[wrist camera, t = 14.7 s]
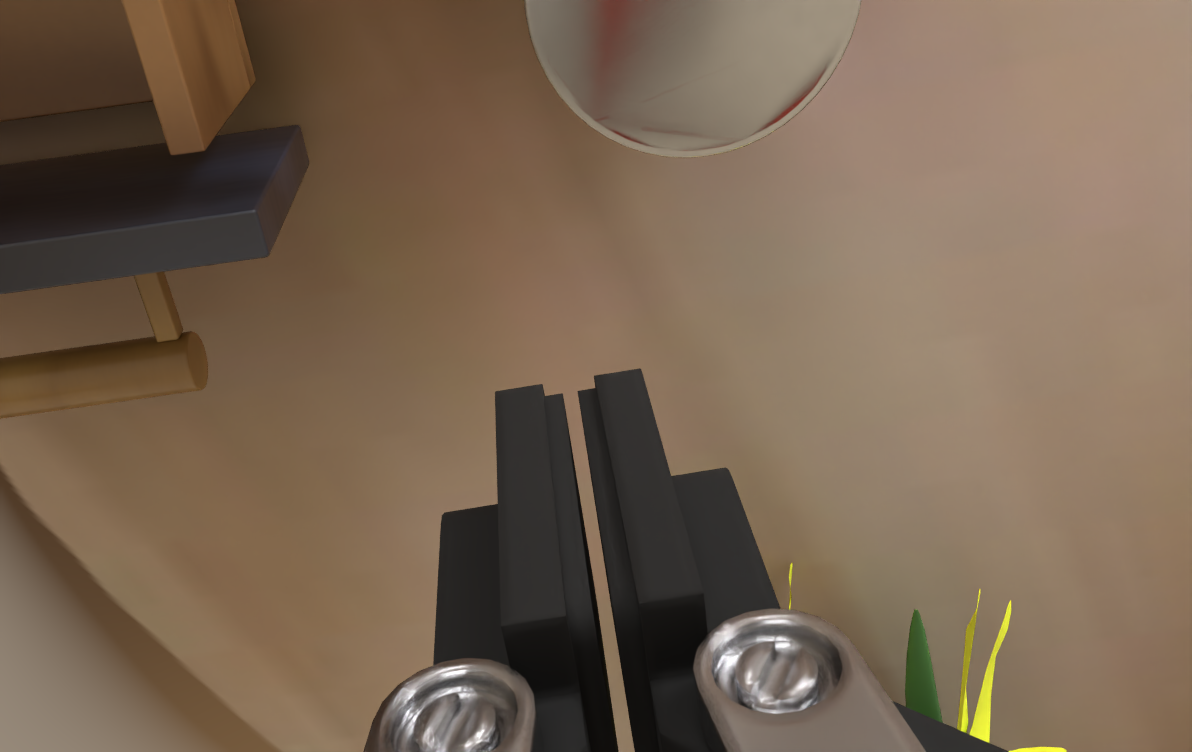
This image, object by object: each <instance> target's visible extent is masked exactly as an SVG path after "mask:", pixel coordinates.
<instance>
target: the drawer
mask: <svg viewBox="0 0 1192 752" xmlns="http://www.w3.org/2000/svg"><path fill="white" fill-rule="evenodd" d="M255 80H256V79H255V75H254V71H253V68H252V64H251V60H250V56H249V53H248V49H247V45H246V41H245V38H244V34H243V30H242V26H241V23H240V19H239V15H238V11H237V8H236V4H235V0H0V122H4V121H11V120H19V119H26V118H34V117H41V116H48V115H56V114H63V113H70V112H78V111H85V110H93V109H100V108H107V107H115V106H122V105H129V104H137V103H144V102H152V101H153V102H154V105H155V108H156V111H157V114H158V118H159V121H160V124H161V127H162V130H163V133H164V137H165V140H166V143H160V144H153V145H146V146H138V147H131V148H124V149H116V150H109V151H102V152H94V153H87V154H80V155H72V156H65V157H58V158H50V159H43V160H36V161H28V162H21V163H14V164H6V165H0V294H6V293H13V292H20V291H27V290H34V289H42V288H49V287H56V286H63V285H70V284H78V283H85V282H92V281H99V280H106V279H113V278H121V277H128V276H134V278H135V281H136V284H137V286H138V289H139V292H140V295H141V298H142V301H143V303H144V306H145V309H146V312H147V315H148V318H149V320H150V323H151V326H152V329H153V332H154V335H155V336H154V337H147V338H140V339H133V340H126V341H119V342H112V343H105V344H97V345H90V346H83V347H76V348H69V349H62V350H55V351H48V352H41V353H33V354H26V355H19V356H12V357H5V358H0V419H1V418H8V417H15V416H22V415H30V414H37V413H44V412H51V411H58V410H65V409H72V408H79V407H86V406H93V405H100V404H107V403H114V402H121V401H128V400H135V399H142V398H149V397H156V396H163V395H170V394H177V393H184V392H191V391H198V390H202V389H204V388H205V386H206V384H207V380H208V362H207V356H206V352H205V348H204V345H203V343H202V341H201V339H200V337H199V336H198V334H197V333H195V332H192V331H190V332H183V327H182V324H181V321H180V318H179V315H178V312H177V309H176V306H175V303H174V300H173V297H172V294H171V291H170V288H169V285H168V282H167V279H166V276H165V273H164V271H171V270H178V269H185V268H192V267H200V266H207V265H214V264H221V263H228V262H235V261H243V260H250V259H257V258H264V257H268V256H269V255H270V252H271V250H272V248H273V246H274V243H275V241H276V239H277V236H278V234H279V232H280V230H281V227H282V225H283V223H284V220H285V218H286V216H287V214H288V211H289V209H290V207H291V204H292V202H293V200H294V198H295V195H296V193H297V191H298V188H299V186H300V184H301V182H302V179H303V177H304V175H305V172H306V170H307V168H308V165H309V159H308V155H307V151H306V147H305V143H304V139H303V135H302V131H301V127H300V126H299V125H292V126H285V127H278V128H270V129H263V130H256V131H248V132H241V133H234V134H226V135H219V136H216V135H217V133H218V132H219V131H220V129H221V128H222V126H223V125H224V124H225V122H226V121H227V120H228V118H229V117H230V115H231V114H232V113H233V111H234V110H235V108H236V107H237V106H238V104H239V103H240V102H241V100H242V99H243V97H244V96H245V95H246V93H247V92H248V91H249V89H250V88H251V86H252V85H253V84H254V82H255ZM182 332H183V333H182Z"/></svg>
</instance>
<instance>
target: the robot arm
mask: <svg viewBox="0 0 1192 752" xmlns="http://www.w3.org/2000/svg"><path fill="white" fill-rule="evenodd" d="M594 380H595V387H596V388H594V389H588V390H581V391H578V396H579V403H580V409H581V416H582V422H583V428H584V435H585V441H586V448H587V454H588V460H589V467H590V473H591V480H592V486H593V492H594V499H595V505H596V512H597V518H598V524H599V531H600V537H601V543H602V550H603V556H604V563H605V569H606V575H607V582H608V588H609V594H610V601H611V607H612V613H613V619H614V625H615V632H616V638H617V644H618V650H619V656H620V663H621V669H622V675H623V681H624V687H625V694H626V700H627V706H628V712H629V718H630V725H631V731H632V737H633V743H634V749H635V752H1009V751H1006V750H1004V749H1002V748H999V747H997V746H995V745H992V744H990V743H988V742H985V741H983V740H981V739H979V738H976V737H974V736H972V735H969V734H967V733H965V732H962V731H960V730H958V729H955V728H953V727H951V726H949V725H946V724H944V723H942V722H939V721H937V720H935V719H932V718H930V717H928V716H925V715H923V714H921V713H919V712H916V711H914V710H912V709H909V708H907V707H905V706H902V705H900V704H898V703H895V702H893V701H892V700H891V699H890V698H889V696H888V695H887V693H886V692H885V690H884V689H883V687H882V686H881V684H880V683H879V681H878V680H877V678H876V677H875V675H874V674H873V672H872V671H871V669H870V668H869V667H868V665H867V664H866V662H865V661H864V659H863V658H862V656H861V655H860V653H859V652H858V650H857V649H856V647H855V646H854V644H853V643H852V642H851V641H850V640H849V639H848V638H847V637H846V636H845V635H844V633H843V632H842V631H841V630H840V629H839V628H838V627H836V626H834V625H832V624H831V623H829V622H827V621H825V620H824V619H822V618H820V617H818V616H815V615H811V614H808V613H804V612H801V611H797V610H788V609H780V606H779V603H778V601H777V598H776V595H775V593H774V590H773V587H772V584H771V582H770V579H769V576H768V574H767V571H766V568H765V565H764V563H763V560H762V557H761V555H760V552H759V549H758V546H757V544H756V541H755V538H754V536H753V533H752V530H751V527H750V525H749V522H748V519H747V517H746V514H745V511H744V508H743V506H742V503H741V500H740V498H739V495H738V492H737V489H736V487H735V484H734V481H733V479H732V476H731V474H730V472H729V470H728V469H727V468H720V469H714V470H708V471H701V472H695V473H689V474H683V475H676V476H671V474H670V471H669V467H668V463H667V460H666V456H665V453H664V449H663V445H662V442H661V438H660V435H659V431H658V428H657V424H656V420H655V417H654V413H653V410H652V406H651V403H650V399H649V395H648V392H647V388H646V385H645V381H644V378H643V374H642V371H641V369H635V370H628V371H622V372H616V373H609V374H603V375H597V376H594ZM495 409H496V449H497V489H498V504H495V505H489V506H483V507H477V508H471V509H464V510H458V511H452V512H446V513H444V514H443V515H442V520H441V533H440V551H439V570H438V589H437V608H436V626H435V645H434V664H433V666H431V667H428V668H426V669H423V670H421V671H419V672H417V673H416V674H414V675H412V676H411V677H409V678H408V679H406V680H405V681H403V682H402V683H400V684H399V685H398V686H397V687H396V688H395V689H394V690H393V691H392V692H391V693H390V694H389V696H388V697H387V698H386V699H385V700H384V701H383V702H382V704H381V706H380V708H379V710H378V712H377V714H376V716H375V718H374V720H373V722H372V726H371V729H370V732H369V735H368V739H367V742H366V745H365V749H364V752H618V745H617V738H616V731H615V724H614V718H613V711H612V704H611V697H610V690H609V683H608V676H607V669H606V662H605V655H604V648H603V641H602V634H601V627H600V620H599V614H598V607H597V600H596V594H595V587H594V581H593V575H592V569H591V563H590V556H589V550H588V544H587V538H586V532H585V526H584V520H583V514H582V508H581V502H580V496H579V490H578V483H577V477H576V471H575V465H574V459H573V453H572V447H571V441H570V435H569V429H568V423H567V417H566V410H565V404H564V399H563V393H562V394H556V395H550V396H545V395H544V390H543V385H542V384H540V385H533V386H527V387H521V388H514V389H508V390H502V391H496V392H495Z"/></svg>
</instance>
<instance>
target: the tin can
mask: <svg viewBox="0 0 1192 752" xmlns="http://www.w3.org/2000/svg"><path fill="white" fill-rule="evenodd" d="M860 5H861V0H524V7H525V14H526V19H527V24H528V29H529V34H530V38H531V41H532V44H533V47H534V50H535V52H536V55H537V58H538V60H539V62H540V64H541V66H542V68H543V70H544V72H545V74H546V77H547V78H548V80H549V81H550V83H551V84H552V86H553V87H554V89H555V90H556V92H557V93H558V95H559V96H560V97H561V99H562V100H563V101H564V102H565V103H566V104H567V105H568V107H569V108H570V109H571V110H572V111H573V112H574V113H575V114H576V115H577V116H578V117H580V118H581V119H582V120H583V121H584V122H585V123H586V124H588V125H589V126H590V127H592V128H593V129H595V130H596V131H598V132H599V133H601V134H602V135H604V136H605V137H607V138H609V139H611V140H613V141H615V142H617V143H619V144H621V145H623V146H625V147H628V148H631V149H634V150H637V151H640V152H643V153H648V154H653V155H658V156H664V157H679V158H690V157H704V156H710V155H715V154H720V153H725V152H729V151H732V150H735V149H738V148H741V147H744V146H747V145H749V144H751V143H753V142H755V141H757V140H759V139H761V138H763V137H766V136H767V135H769V134H770V133H772V132H774V131H775V130H777V129H778V128H780V127H781V126H783V125H784V124H786V123H787V122H788V121H789V120H791V119H792V118H793V117H794V116H796V115H797V114H798V113H799V112H800V111H802V110H803V109H804V108H805V106H806V105H807V104H808V103H809V102H810V101H811V100H812V99H813V98H814V97H815V96H816V95H817V94H818V93H819V91H820V90H821V89H822V87H823V86H824V85H825V84H826V82H827V81H828V80H829V78H830V77H831V75H832V74H833V72H834V70H835V69H836V67H837V65H838V64H839V62H840V60H841V59H842V57H843V55H844V52H845V50H846V48H847V46H848V44H849V41H850V39H851V37H852V34H853V31H854V28H855V25H856V22H857V18H858V15H859V11H860Z"/></svg>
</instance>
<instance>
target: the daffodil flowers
mask: <svg viewBox="0 0 1192 752" xmlns="http://www.w3.org/2000/svg"><path fill="white" fill-rule="evenodd" d="M791 576H792V563H791V566H790V572H789V583H790V585H791ZM979 597H980V589H979V595H978V602H979ZM790 605H791V589H790V600H789V610H790ZM977 608H978V603H977ZM976 615H977V609H976V611H975V613H974V615H973V617H972V619H971V621H970V623H969V625H968V627H967V629H966V637H965V650H964V663H963V673H962V684H961V695H960V705H959V715H958V725H957V729H958V730H960V731H962V732H965V733H966V732H967V727H968V711H967V696H966V684H967V677H968V670H969V663H970V657H971V650H972V644H973V637H974V630H975V624H976ZM1010 615H1011V600H1010V602H1009V604H1008V607H1007V610H1006V614H1005V617H1004V620H1003V623H1002V626H1001V629H1000V631H999V634H998V637H997V640H996V643H995V646H994V649H993V652H992V655H991V657H990V660H989V663H988V666H987V669H986V673H985V677H984V681H983V685H982V689H981V693H980V697H979V701H978V705H977V709H976V713H975V717H974V721H973V725H972V728H971V731H970V734H969V735H972V736H974V737H976V738H979V739H981V740H983V741H985V742H988V743H989V735H990V708H991V691H992V683H993V674H994V666H995V658H996V654H997V652H998V650H999V648H1000V645H1001V643H1002V641H1003V639H1004V637H1005V634H1006V632H1007V630H1008V625H1009V620H1010ZM905 697H906V707H907V708H909V709H912V710H914V711H916V712H919V713H921V714H923V715H925V716H928V717H930V718H932V719H935V720H937V721H939V722H942V723H943V721H942V716H941V712H940V707H939V702H938V697H937V691H936V685H935V680H934V674H933V669H932V663H931V658H930V653H929V648H928V644H927V639H926V634H925V629H924V626H923V623H922V620H921V617H920V614H919V611H918V610H916V609H915V610H914V613H913V617H912V622H911V626H910V633H909V641H908V650H907V662H906V683H905ZM1009 752H1067V751H1066V750H1065V749H1063V748H1057V747H1033V748H1023V749H1017V750H1013V751H1009Z"/></svg>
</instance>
